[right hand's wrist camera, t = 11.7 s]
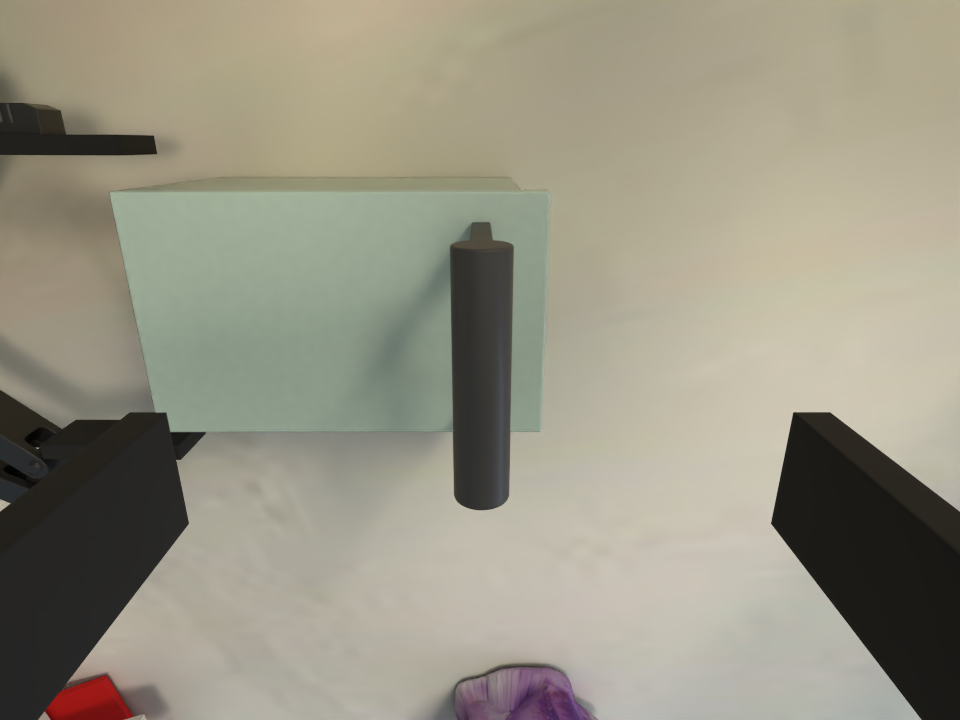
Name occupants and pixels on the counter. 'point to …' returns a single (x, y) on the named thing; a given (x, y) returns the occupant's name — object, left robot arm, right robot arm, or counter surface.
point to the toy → (89, 703)
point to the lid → (345, 314)
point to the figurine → (519, 696)
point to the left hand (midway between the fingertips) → (169, 305)
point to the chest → (344, 183)
